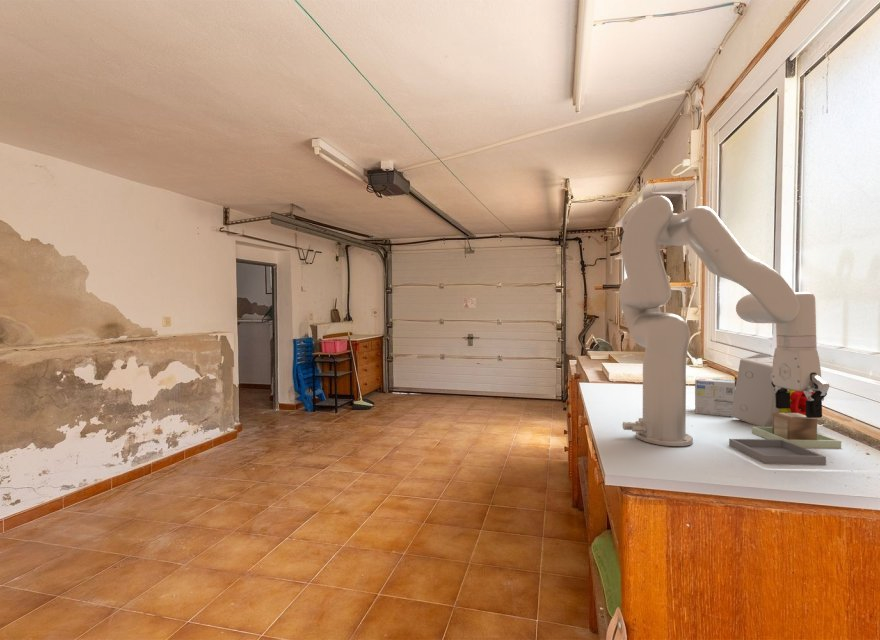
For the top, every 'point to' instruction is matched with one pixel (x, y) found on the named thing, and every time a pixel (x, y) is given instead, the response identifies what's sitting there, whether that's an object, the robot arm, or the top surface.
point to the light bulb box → (714, 396)
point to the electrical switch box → (761, 393)
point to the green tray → (819, 443)
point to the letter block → (794, 426)
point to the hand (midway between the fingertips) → (797, 412)
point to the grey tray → (777, 451)
